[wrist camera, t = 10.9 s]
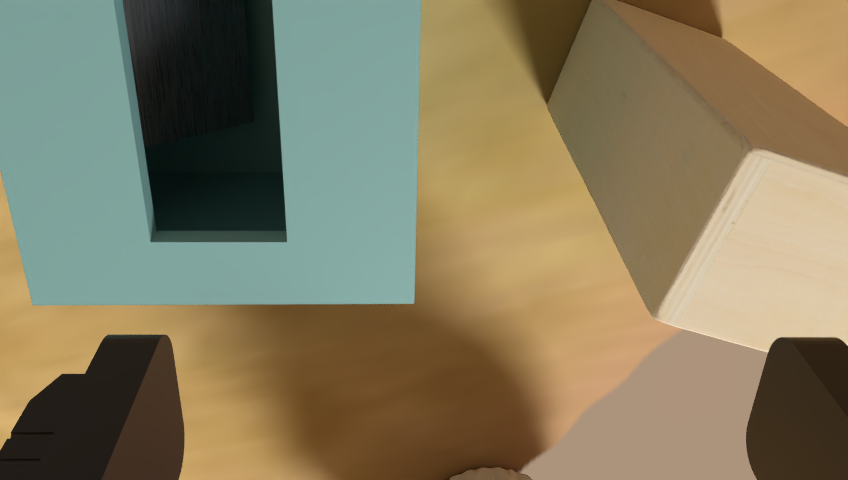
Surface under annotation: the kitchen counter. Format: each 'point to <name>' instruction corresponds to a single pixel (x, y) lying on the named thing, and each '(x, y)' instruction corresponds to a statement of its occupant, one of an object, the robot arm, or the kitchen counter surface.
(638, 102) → the toy refrigerator
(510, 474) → the vase
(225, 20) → the brushed metal block
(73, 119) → the coin box
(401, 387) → the kitchen counter surface
